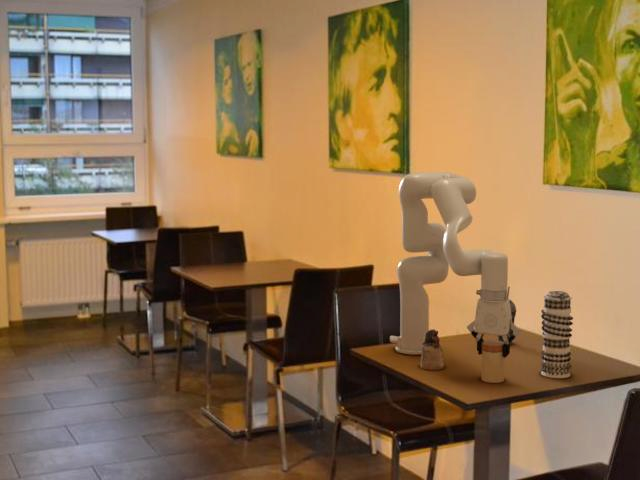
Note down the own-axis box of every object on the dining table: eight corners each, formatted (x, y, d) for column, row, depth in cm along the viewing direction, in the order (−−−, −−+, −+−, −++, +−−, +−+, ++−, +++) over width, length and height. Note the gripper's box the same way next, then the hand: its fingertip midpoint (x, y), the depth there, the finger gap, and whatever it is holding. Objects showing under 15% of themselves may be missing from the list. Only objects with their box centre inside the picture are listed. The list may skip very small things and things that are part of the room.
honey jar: (478, 381, 262) (478, 345, 260) (485, 375, 268) (485, 340, 266) (500, 383, 259) (500, 348, 257) (506, 378, 264) (507, 343, 263)
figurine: (437, 363, 282) (437, 326, 280) (447, 368, 275) (448, 330, 274) (416, 365, 279) (417, 327, 278) (427, 371, 273) (427, 332, 271)
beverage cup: (502, 340, 312) (503, 283, 310) (520, 343, 307) (521, 286, 304) (489, 343, 307) (490, 286, 305) (507, 347, 302) (508, 289, 299)
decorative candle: (535, 370, 272) (537, 290, 269) (564, 369, 273) (567, 289, 270) (545, 379, 263) (547, 295, 260) (576, 378, 264) (578, 294, 261)
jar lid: (478, 350, 261) (478, 344, 260) (485, 345, 266) (485, 339, 266) (500, 353, 257) (501, 346, 257) (507, 347, 263) (508, 341, 263)
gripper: (461, 295, 261) (460, 354, 263) (519, 299, 253) (518, 361, 255) (469, 290, 267) (469, 349, 270) (527, 295, 259) (525, 355, 261)
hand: (493, 354), depth 262 cm, fingers closed on jar lid, 6 cm apart
